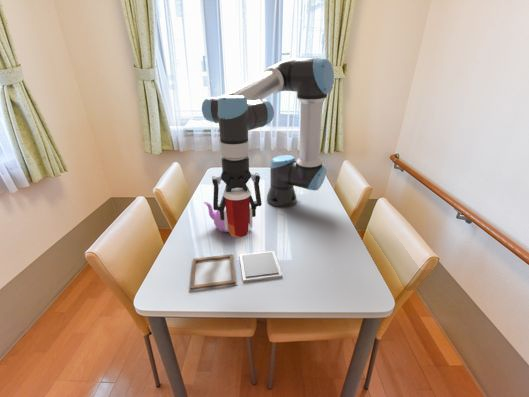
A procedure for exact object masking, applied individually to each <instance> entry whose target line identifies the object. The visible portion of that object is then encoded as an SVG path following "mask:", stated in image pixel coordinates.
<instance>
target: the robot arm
mask: <svg viewBox="0 0 529 397" xmlns="http://www.w3.org/2000/svg"><path fill="white" fill-rule="evenodd" d="M333 67H334V66H333V65H332V62H331V61H330V60H328V59H327V58H326V59H325V58H319V57H314V58H289V59H286V60H283V61H280V62H277V63H276V64H273V65H271V66H269V67H267V68H265V70H264V71H263V73H262V74H260V75H258V76H256V77H255V78H253V79H251V80H249V81H247V82H245V83H244V84H243V83H242V85H240V86H237V87H236V88H234V89H231V91H228V92H227V93H225V94H222V95H220V96H209V97H206V98H205V99H204V100H203V102H202V104H201V112H202V113H201V114H202V115H203V117H204V119H205V120H206V121H208V122H211V123H212V122H213V123H215V124H218V127H219V141H220V142H219V144H220V156H221V168H222V170H221V171H222V172H221V173H220V174H221V175H218V176H215V175H213V176H212V177H211V181H212V185H213V198H212V199H213V200H212V201H213V202H212V205H213V206H212V209H213V211H217V210H219V211H220V218H221V220H224V222H225V230H228V225H227V212H226V208H225V206H226V201H225V197H224V196H223V195H222V197H221V200H220V203H219V189H220V188H219V185H220V184H221V181H222V182H224V183H225V188H224V190H226V192H231V189H234V188H242V187H243V189H244V191H245V190H246V191H247V190H248V188H249V186H248V185H247V183H248V182H249V181H250V179H251V180H252V182H253V188H254V194H255V195H254V196H255V201H254V198H253V196H252V194H251V195H250V208H249V229H252V228H253V218H256V215H257V214H256V213H257V212H256V210H257V207H261V206H262V198H261V196H262V195H261V191H260V179H261V176H260V174H259V173H257V172H256V173H251V171H250V157H249V153H250V150H249V149H250V147H249V131H252V130H256V129H258V128H263V127H265V126H266V125H269V124H270V123H271V122H272V120H273V119H274V116H275V110H274V107H273V105H272V103H271V101H268V100H267V99H266V98H267V97H269V96H270V95H272V94H273V95H274V94H278V93H280V92H295V93H296V98H297V100H299V102H300V118H299V119H300V122H299V124H300V127H299V156H298V157H297V159H296V157H295V156H294V155H291V154H286V155H278V156H275V157H273V158H272V159H271V160H270V165H269V166H270V167H269V168H270V169H269V170H270V181H269V183H270V185H269V186H270V187H269V189H268V192H267V194H266V202H267V204H269V205H271V206H273V207H276V208H287V207H288V208H289V207H292V206H293V205H295V204H296V203H297V194H296V191H295V188H294V187H297V188H302V189H307V190H309V191H319V189H320V188H321V187H322V185H323V183H324V181H325V180H326V179H325V178H326V175H327V167H326V166H324V165H323V160H322V158H321V157H320V153H321V152H320V150H321V149H320V148H321V135H322V134H321V133H322V118H323V102H324V101H325V100H326V99H327V98H328V94H330V93H331V92H332V90H333V88H334V87H333V85H334V84H335V83H334V81H335V74H334V72H335V71H334V68H333ZM246 191H245V192H246Z"/></svg>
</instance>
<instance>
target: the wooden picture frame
mask: <svg viewBox="0 0 529 397" xmlns="http://www.w3.org/2000/svg"><path fill="white" fill-rule="evenodd" d="M235 262H236V261H235V255H234V254H231V253H230V254H224V255H223V254H222V255H215V256H205V257H195V258H193V259H192V260H191V267H190V275H189V286H188V289H189V290H188V292H197V291H204V290H212V289H219V288H227V287H234V286H238V280H237V270H236V263H235Z"/></svg>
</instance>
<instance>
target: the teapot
mask: <svg viewBox="0 0 529 397" xmlns="http://www.w3.org/2000/svg"><path fill="white" fill-rule="evenodd" d="M203 204H205V206H207V208H208V215H209V217H210V218H211V220H213V223H214V226H215V227H216V228H217V229H218V230H220V232H221V233H230V232H229V226H228V230H225V222H224V220H221V218H220V211H219V210H214V209H213V206H212V204H211V203H210V202H208V201H207V202H206V201H204V202H203ZM225 208H226V206H225ZM227 225H228V219H227Z"/></svg>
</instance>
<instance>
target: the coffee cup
mask: <svg viewBox="0 0 529 397" xmlns="http://www.w3.org/2000/svg"><path fill="white" fill-rule="evenodd" d="M245 191H246V190H245ZM245 191H244V189H243V187H242V188H234V189H231V192H226V190H225V189H223V192H222V197H223V196H224V197H225V201H226V212H227V219H228V226H229V232H228V233H229V234H230V236H231V237H233V238H243V237H246V236H248V233H249V229H250V225H249V208H250V205H251V204H250V195H251V196H252V191H251V190H250V187H248V190H247V191H246V192H245Z"/></svg>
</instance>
